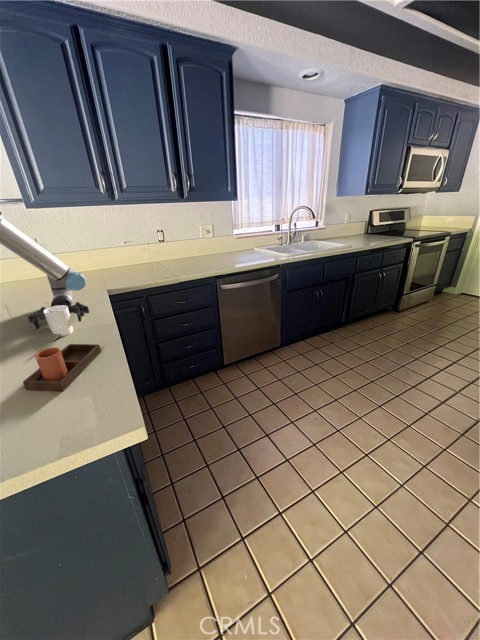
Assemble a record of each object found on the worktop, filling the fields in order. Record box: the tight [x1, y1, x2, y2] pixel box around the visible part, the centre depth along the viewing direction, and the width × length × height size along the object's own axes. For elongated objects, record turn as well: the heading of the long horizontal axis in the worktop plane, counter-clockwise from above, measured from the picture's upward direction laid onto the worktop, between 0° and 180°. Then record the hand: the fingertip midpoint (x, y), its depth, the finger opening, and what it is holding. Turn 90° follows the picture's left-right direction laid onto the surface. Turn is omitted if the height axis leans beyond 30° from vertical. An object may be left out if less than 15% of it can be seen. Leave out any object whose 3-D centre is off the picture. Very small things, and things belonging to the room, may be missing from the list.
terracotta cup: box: [34, 346, 68, 381], centre depth 75 cm, size 6×6×9 cm
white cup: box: [43, 305, 74, 338], centre depth 101 cm, size 8×8×10 cm
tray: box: [22, 343, 102, 392], centre depth 81 cm, size 10×20×3 cm, turn 178°
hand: (58, 321), depth 98 cm, fingers open, 13 cm apart
